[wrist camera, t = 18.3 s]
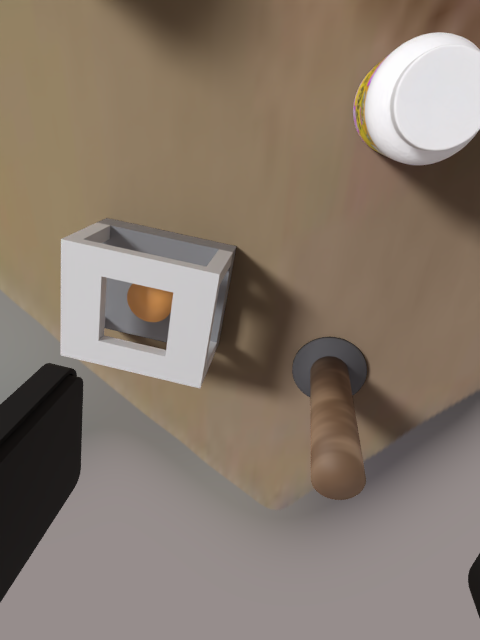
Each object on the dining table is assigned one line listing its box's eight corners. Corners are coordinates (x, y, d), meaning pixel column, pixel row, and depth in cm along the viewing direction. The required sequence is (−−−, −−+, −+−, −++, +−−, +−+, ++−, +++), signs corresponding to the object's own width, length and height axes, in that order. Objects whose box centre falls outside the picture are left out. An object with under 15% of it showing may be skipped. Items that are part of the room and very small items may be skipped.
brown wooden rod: (353, 361, 41) (372, 466, 29) (342, 392, 43) (356, 505, 30) (315, 352, 41) (318, 452, 29) (306, 383, 43) (305, 492, 30)
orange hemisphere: (181, 276, 38) (175, 284, 36) (176, 317, 40) (169, 326, 38) (137, 266, 38) (128, 273, 36) (133, 307, 40) (125, 316, 38)
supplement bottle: (378, 40, 31) (419, -10, 20) (463, 77, 31) (554, 49, 20) (336, 135, 34) (350, 141, 22) (414, 168, 34) (468, 191, 23)
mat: (375, 346, 41) (376, 348, 40) (354, 406, 44) (354, 409, 43) (302, 329, 41) (302, 331, 41) (285, 390, 44) (285, 392, 44)
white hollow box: (236, 246, 39) (219, 274, 31) (218, 343, 43) (200, 388, 36) (106, 218, 39) (61, 239, 32) (101, 316, 44) (60, 355, 36)
